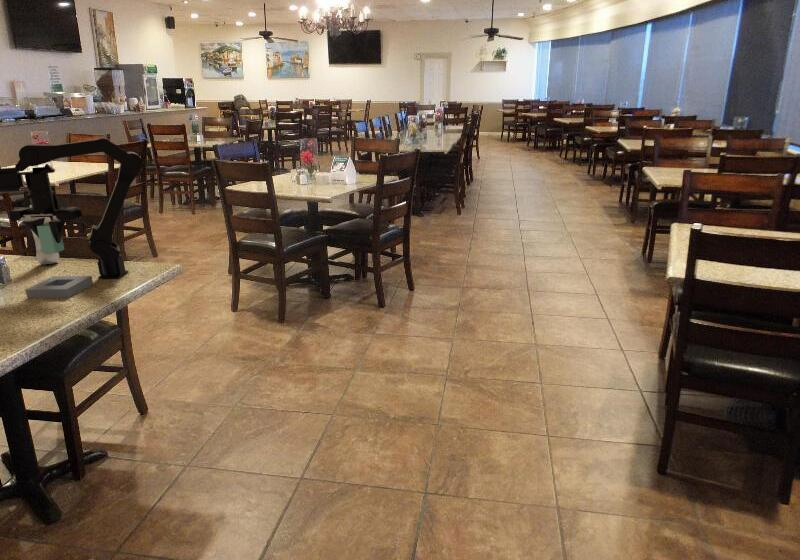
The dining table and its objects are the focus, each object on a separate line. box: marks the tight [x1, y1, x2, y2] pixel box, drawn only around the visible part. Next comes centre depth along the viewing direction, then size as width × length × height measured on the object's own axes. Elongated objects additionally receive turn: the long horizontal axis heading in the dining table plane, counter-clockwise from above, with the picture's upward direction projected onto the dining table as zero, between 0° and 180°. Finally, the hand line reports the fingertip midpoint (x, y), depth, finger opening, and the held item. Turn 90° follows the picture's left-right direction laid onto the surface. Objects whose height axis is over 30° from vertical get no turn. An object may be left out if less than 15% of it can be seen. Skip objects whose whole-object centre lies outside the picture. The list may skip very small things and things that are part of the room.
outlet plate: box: [25, 275, 94, 299], centre depth 166 cm, size 12×12×2 cm
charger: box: [37, 222, 66, 253], centre depth 168 cm, size 4×4×9 cm
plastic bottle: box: [29, 204, 60, 265], centre depth 191 cm, size 6×7×20 cm
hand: (52, 242), depth 169 cm, fingers closed on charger, 4 cm apart
